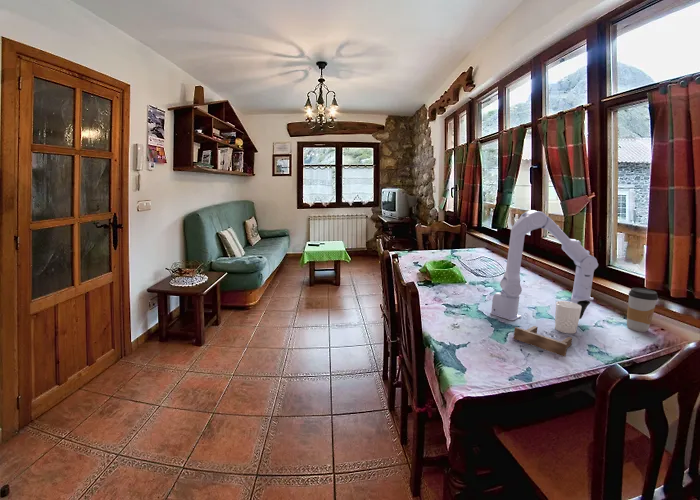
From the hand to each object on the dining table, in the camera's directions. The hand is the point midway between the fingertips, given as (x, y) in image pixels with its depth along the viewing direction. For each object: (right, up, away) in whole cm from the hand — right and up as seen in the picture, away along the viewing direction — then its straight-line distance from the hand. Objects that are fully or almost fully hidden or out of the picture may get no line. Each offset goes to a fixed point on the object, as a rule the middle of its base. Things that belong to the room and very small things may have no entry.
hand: (577, 318), depth 132 cm
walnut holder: (-23, -5, -17) cm, 29 cm away
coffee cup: (+19, -3, -5) cm, 20 cm away
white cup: (-9, -3, -7) cm, 12 cm away
